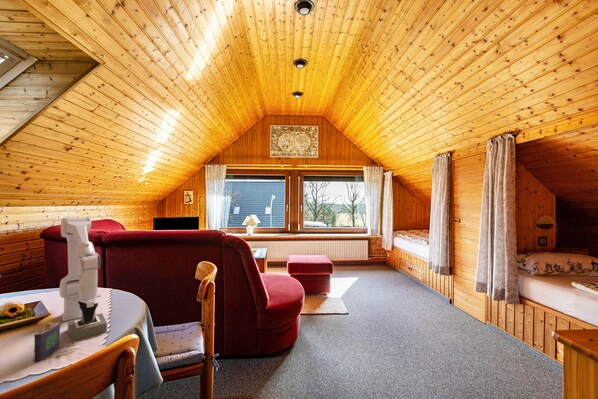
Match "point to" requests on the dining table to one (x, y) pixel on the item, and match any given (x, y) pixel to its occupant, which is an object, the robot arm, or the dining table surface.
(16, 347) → the dining table surface
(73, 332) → the grey frame block
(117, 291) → the dining table surface
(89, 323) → the lens
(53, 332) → the flask
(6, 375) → the dining table surface
